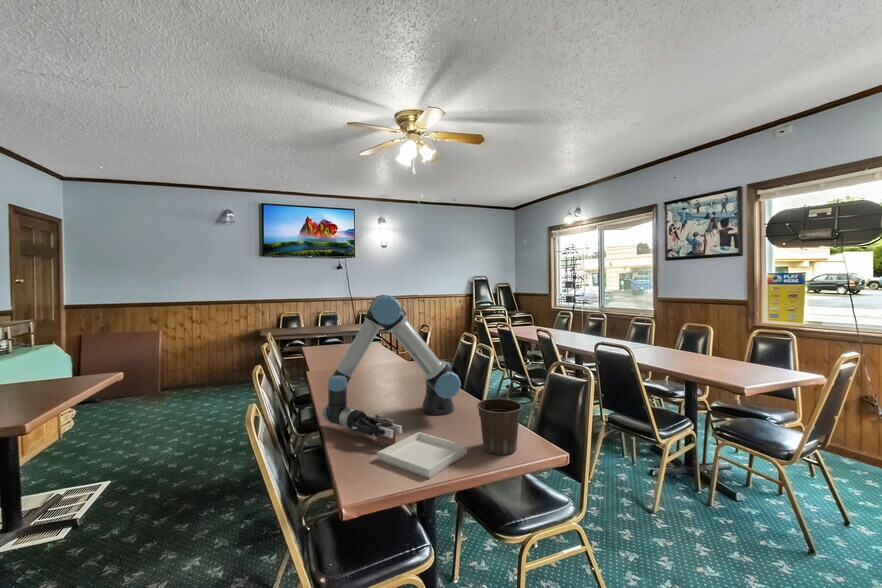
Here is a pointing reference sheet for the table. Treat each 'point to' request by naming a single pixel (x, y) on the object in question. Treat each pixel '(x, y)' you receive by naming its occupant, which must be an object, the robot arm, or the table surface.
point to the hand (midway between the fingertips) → (396, 431)
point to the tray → (422, 454)
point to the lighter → (385, 440)
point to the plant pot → (499, 425)
